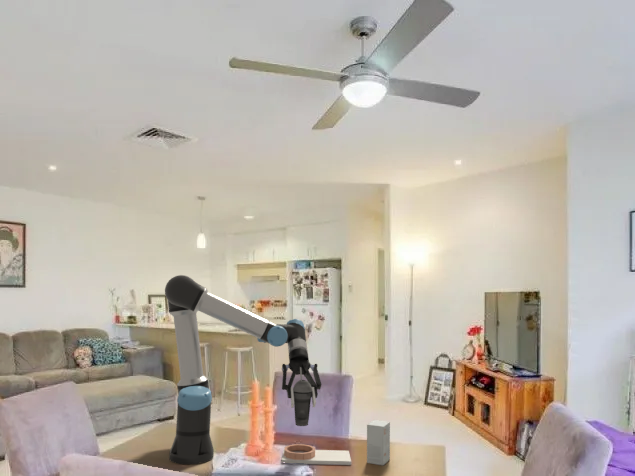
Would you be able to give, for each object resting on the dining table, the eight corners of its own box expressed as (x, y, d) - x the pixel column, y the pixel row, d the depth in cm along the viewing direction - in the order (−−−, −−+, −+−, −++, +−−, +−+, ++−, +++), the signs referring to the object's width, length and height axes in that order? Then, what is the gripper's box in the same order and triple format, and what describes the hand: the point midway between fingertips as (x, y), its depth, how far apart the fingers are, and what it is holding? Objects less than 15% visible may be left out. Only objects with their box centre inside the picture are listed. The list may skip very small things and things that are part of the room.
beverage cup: (303, 428, 170) (304, 369, 172) (287, 424, 174) (289, 367, 176) (315, 424, 175) (317, 367, 178) (300, 420, 180) (301, 365, 182)
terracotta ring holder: (283, 459, 168) (283, 453, 168) (285, 449, 179) (285, 443, 179) (315, 460, 168) (315, 454, 168) (315, 450, 179) (315, 444, 179)
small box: (373, 456, 177) (373, 419, 179) (390, 459, 175) (390, 421, 176) (366, 462, 170) (366, 424, 172) (383, 465, 167) (383, 426, 169)
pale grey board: (281, 463, 167) (281, 459, 167) (283, 452, 179) (283, 449, 179) (351, 465, 167) (351, 461, 167) (348, 454, 179) (348, 450, 179)
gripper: (321, 359, 194) (329, 410, 176) (271, 359, 191) (274, 411, 173) (324, 347, 190) (332, 398, 172) (273, 347, 186) (276, 399, 168)
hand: (303, 405), depth 172 cm, fingers closed on beverage cup, 7 cm apart
